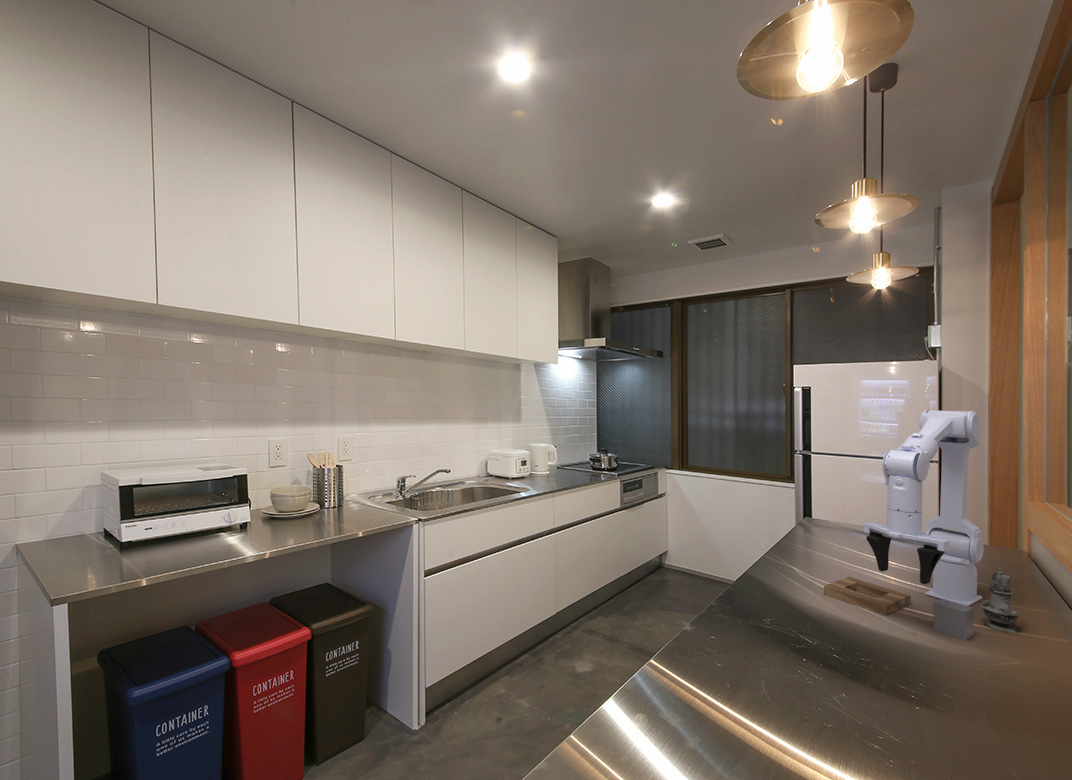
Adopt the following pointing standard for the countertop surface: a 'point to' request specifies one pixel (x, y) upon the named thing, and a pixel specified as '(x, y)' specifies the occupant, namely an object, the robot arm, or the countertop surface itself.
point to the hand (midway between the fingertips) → (903, 576)
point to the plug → (953, 619)
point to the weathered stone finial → (1000, 604)
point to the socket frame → (882, 603)
